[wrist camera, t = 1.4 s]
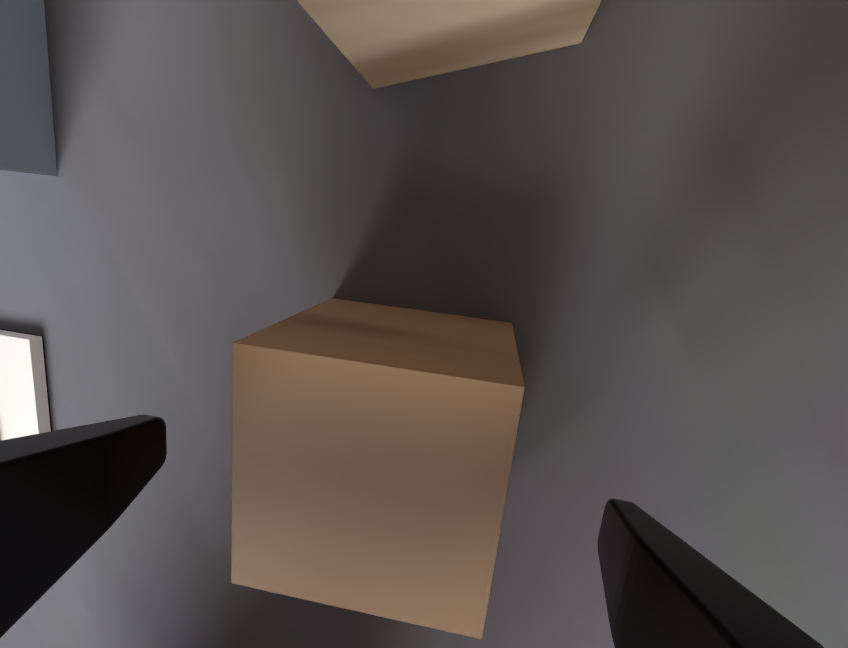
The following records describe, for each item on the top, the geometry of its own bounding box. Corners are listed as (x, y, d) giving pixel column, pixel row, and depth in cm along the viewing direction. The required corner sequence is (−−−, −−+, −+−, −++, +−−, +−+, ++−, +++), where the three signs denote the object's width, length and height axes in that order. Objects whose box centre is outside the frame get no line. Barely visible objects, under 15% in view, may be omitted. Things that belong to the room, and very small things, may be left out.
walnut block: (486, 486, 13) (481, 639, 8) (324, 456, 14) (231, 582, 9) (511, 321, 12) (524, 387, 7) (333, 297, 12) (233, 343, 8)
